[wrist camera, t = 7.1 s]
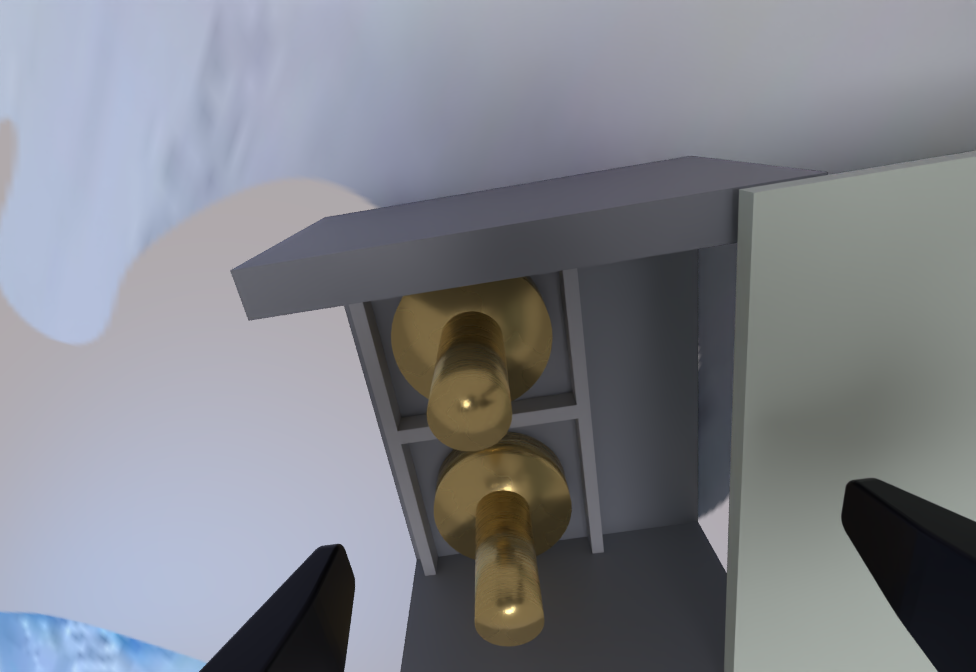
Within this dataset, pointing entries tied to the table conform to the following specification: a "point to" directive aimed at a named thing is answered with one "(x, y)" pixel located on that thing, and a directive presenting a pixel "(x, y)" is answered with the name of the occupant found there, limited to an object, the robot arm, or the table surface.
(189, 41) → the table surface
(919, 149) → the table surface
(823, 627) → the lid
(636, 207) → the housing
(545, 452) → the brass knob
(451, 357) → the brass door knob
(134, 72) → the table surface
